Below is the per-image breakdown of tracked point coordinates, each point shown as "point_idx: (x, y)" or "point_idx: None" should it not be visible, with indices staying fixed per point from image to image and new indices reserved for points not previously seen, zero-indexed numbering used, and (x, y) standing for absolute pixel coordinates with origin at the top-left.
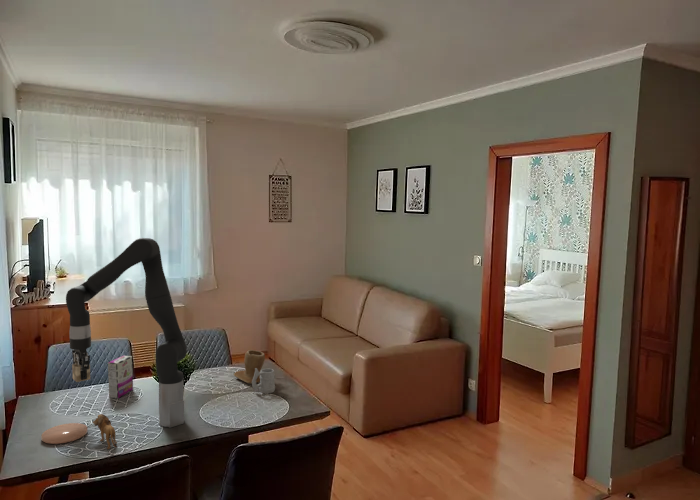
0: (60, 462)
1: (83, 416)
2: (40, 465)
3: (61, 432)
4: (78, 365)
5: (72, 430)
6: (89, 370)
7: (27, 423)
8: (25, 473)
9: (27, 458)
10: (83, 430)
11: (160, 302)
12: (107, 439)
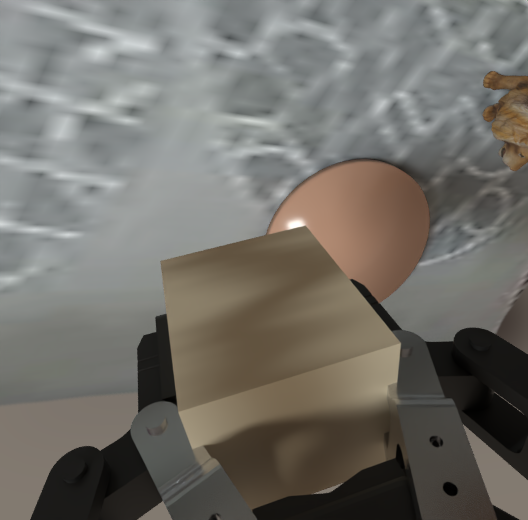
0: (517, 252)
1: (152, 153)
2: (489, 297)
3: (349, 261)
4: (325, 461)
5: (359, 223)
6: (352, 291)
7: (122, 366)
8: (499, 323)
9: (423, 329)
10: (391, 182)
11: None
12: None
